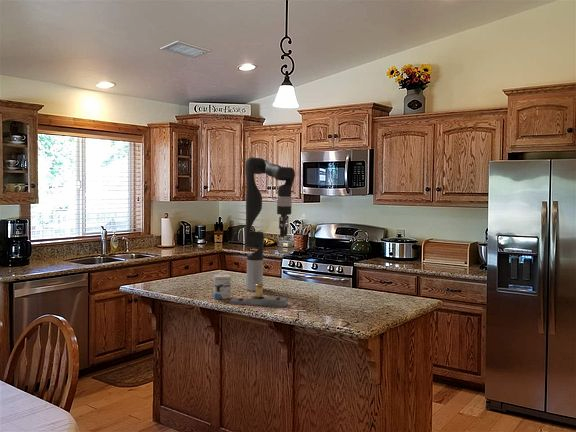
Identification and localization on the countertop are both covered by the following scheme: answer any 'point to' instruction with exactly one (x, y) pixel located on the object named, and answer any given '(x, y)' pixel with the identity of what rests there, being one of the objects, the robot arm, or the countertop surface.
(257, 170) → the robot arm
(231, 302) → the link plates
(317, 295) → the countertop surface
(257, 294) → the link pin
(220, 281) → the ink box
